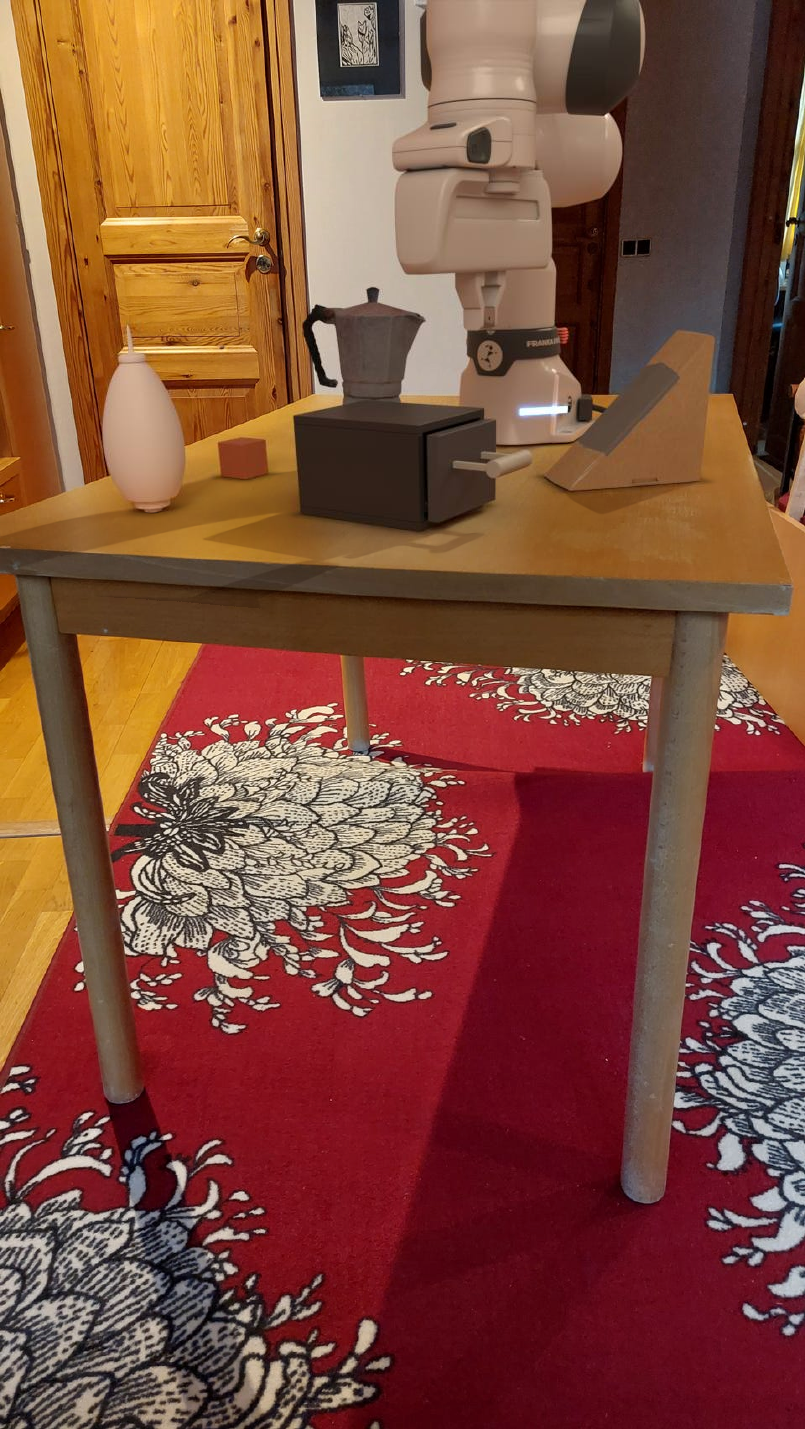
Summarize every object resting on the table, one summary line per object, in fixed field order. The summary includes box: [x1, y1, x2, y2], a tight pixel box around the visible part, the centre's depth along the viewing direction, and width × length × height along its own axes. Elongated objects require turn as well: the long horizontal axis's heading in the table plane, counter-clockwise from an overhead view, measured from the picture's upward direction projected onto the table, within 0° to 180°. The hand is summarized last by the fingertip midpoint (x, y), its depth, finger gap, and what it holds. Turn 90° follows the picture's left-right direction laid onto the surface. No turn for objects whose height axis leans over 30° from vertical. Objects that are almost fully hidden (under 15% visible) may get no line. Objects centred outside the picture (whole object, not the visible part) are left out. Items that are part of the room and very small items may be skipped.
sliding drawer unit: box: [422, 419, 533, 523], centre depth 94 cm, size 19×10×8 cm, turn 55°
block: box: [217, 436, 269, 480], centre depth 116 cm, size 4×4×4 cm
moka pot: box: [301, 286, 427, 405], centre depth 119 cm, size 10×15×20 cm, turn 78°
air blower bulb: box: [101, 324, 187, 513], centre depth 98 cm, size 8×8×18 cm
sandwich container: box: [543, 329, 716, 492], centre depth 106 cm, size 9×15×15 cm, turn 102°
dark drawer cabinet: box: [292, 400, 485, 532], centre depth 97 cm, size 15×12×10 cm
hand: (480, 329), depth 86 cm, fingers closed
